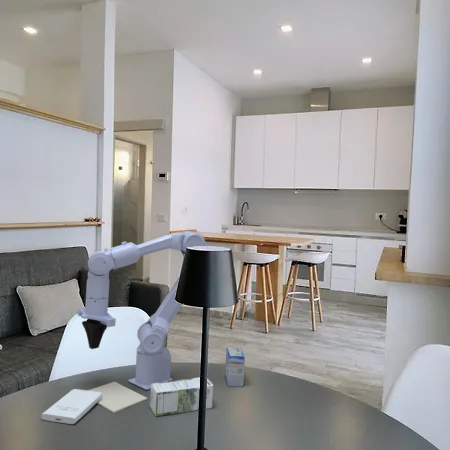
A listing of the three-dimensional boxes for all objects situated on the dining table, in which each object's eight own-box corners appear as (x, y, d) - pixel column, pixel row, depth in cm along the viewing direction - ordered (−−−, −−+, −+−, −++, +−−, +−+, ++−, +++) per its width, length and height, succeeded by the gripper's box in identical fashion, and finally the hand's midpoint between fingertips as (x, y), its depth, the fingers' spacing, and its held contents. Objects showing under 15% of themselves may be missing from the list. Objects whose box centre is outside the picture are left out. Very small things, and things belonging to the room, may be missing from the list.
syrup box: (149, 406, 99) (204, 397, 105) (155, 417, 94) (213, 407, 100) (150, 382, 99) (205, 375, 105) (156, 392, 94) (214, 384, 100)
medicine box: (224, 375, 121) (226, 346, 120) (239, 375, 121) (240, 346, 121) (227, 387, 113) (229, 355, 113) (243, 387, 113) (245, 356, 113)
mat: (114, 383, 112) (114, 381, 112) (147, 399, 103) (147, 398, 103) (81, 394, 104) (81, 392, 104) (113, 413, 95) (113, 411, 95)
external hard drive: (102, 398, 101) (74, 424, 89) (72, 394, 103) (41, 419, 90) (102, 392, 101) (74, 417, 89) (72, 388, 103) (41, 412, 90)
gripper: (68, 293, 110) (65, 343, 110) (100, 303, 101) (96, 358, 101) (91, 291, 115) (88, 339, 115) (123, 300, 106) (120, 352, 106)
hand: (94, 347), depth 108 cm, fingers closed
